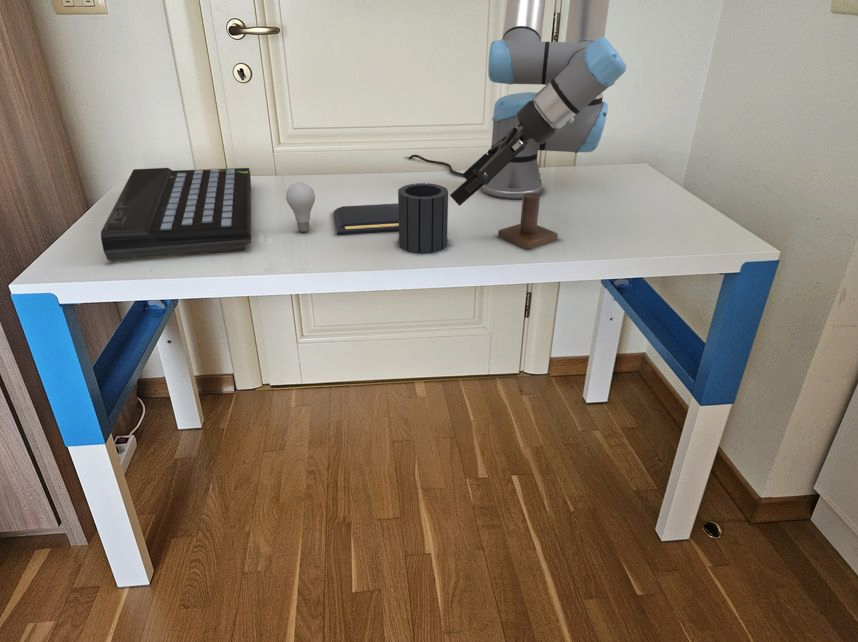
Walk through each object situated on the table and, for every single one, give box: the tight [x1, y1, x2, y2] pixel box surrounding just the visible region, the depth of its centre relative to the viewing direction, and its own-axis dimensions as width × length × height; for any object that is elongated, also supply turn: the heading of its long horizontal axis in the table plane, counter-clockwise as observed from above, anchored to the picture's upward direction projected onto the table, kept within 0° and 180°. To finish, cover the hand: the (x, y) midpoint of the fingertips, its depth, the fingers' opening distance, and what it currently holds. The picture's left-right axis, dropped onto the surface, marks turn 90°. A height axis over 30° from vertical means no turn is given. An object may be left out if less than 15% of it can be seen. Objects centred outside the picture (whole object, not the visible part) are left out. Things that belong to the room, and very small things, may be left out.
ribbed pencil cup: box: [397, 182, 449, 254], centre depth 135 cm, size 10×10×12 cm
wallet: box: [333, 202, 399, 236], centre depth 149 cm, size 20×2×15 cm
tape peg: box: [497, 193, 559, 250], centre depth 138 cm, size 9×9×10 cm
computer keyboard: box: [100, 167, 252, 261], centre depth 148 cm, size 45×28×7 cm, turn 12°
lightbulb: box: [285, 181, 316, 233], centre depth 141 cm, size 6×6×11 cm
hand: (460, 189), depth 130 cm, fingers open, 13 cm apart
